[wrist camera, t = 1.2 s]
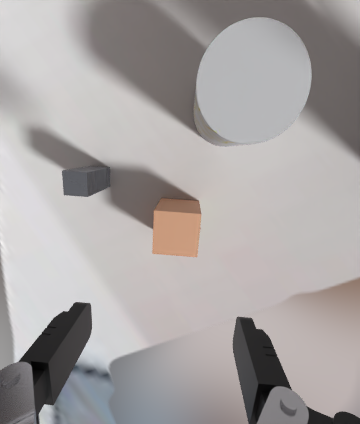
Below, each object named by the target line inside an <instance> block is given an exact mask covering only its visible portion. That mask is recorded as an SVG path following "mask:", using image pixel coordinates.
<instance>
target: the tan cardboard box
mask: <svg viewBox="0 0 360 424" xmlns="http://www.w3.org/2000/svg"><path fill="white" fill-rule="evenodd" d="M200 222H201V210H200V204H199V201H195V200H181V199H168V198H161V199H160V201H159V203H158V204H157V206H156V208H155V210H154V223H153V252H152V254H163V255H176V256H189V257H197V254H198V244H199V233H200Z"/></svg>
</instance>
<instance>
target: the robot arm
mask: <svg viewBox="0 0 360 424" xmlns="http://www.w3.org/2000/svg"><path fill="white" fill-rule="evenodd" d="M91 330H92V316H91V304H90V303H81V302H75V303H74V304H73V306H72V307H71V308H70V310H69V311H68V312H65V311H63V312H62V313H60V314H59V315H58V316H56V317H55V318H54V319H53V320H52V321H51V322H50V324H49V325H48V326H47V328H45V330H44V331H43V332H42V334H41V335H40V336H39V337H38V338H37V340H36V341H35V342H34V343H33V344H32V346H31V347H30V348H29V349H28V351H27V352H26V353H25V354H24V356H23V357H22V358H21V359H20V361H19V362H17V363H13V364H11V365H9V366H7V367H5V368H3V369H2V370H0V424H40V423H39V412H40V411H41V409H42V407H43V405H44V404H47V405H54V403H55V401H56V399H57V397H58V396H59V394H60V392H61V390H62V388H63V386H64V384H65V383H66V381H67V379H68V377H69V375H70V373H71V371H72V369H73V368H74V366H75V364H76V362H77V360H78V358H79V356H80V355H81V353H82V351H83V349H84V347H85V345H86V343H87V341H88V340H89V337H90V334H91ZM233 353H234V357H235V361H236V366H237V370H238V375H239V381H240V385H241V390H242V395H243V399H244V403H245V409H246V413H247V418H248V422H249V424H360V418H358V417H356V416H355V415H353V414H350V413H347V412H339V413H336V414H335V416H334V418H331V417H328V416H326V415H324V414H321V413H319V412H316V411H314V410H312V409H310V408H309V407H307V406H306V404H305V403H304V401H303V400H302V399H301V397H300V396H299V395H298V394H297V393H295V392H294V391H292V389H291V387H290V385H289V382H288V380H287V377H286V375H285V373H284V370H283V368H282V366H281V363H280V361H279V359H278V357H277V354H276V352H275V349H274V347H273V345H272V342H271V340H270V338H269V337H268V335H267V334H266V333H265V332H264V331H263V330H260V329H256V327H255V325H254V322H253V320H252V318H245V317H237V319H236V325H235V331H234V337H233Z"/></svg>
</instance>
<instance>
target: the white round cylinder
mask: <svg viewBox="0 0 360 424" xmlns="http://www.w3.org/2000/svg"><path fill="white" fill-rule="evenodd" d="M311 78H312V72H311V62H310V58H309V54H308V52H307V49H306V47H305V45H304V43H303V41H302V40H301V38H300V37H299V36H298V35H297V33H296V32H295V31H294V30H292V29H291V28H290V27H289V26H287V25H286V24H284V23H282V22H280V21H278V20H275V19H271V18H265V17H254V18H248V19H244V20H241V21H238V22H236V23H234V24H232V25H230V26H229V27H227V28H226V29H224V30H223V31H222V32H221V33H220V34H219V35H218V36H217V37H216V38H215V39H214V40H213V41H212V42H211V44H210V45H209V47H208V48H207V50H206V52H205V53H204V55H203V57H202V60H201V63H200V66H199V69H198V74H197V81H196V91H195V101H194V111H193V115H194V122H195V125H196V128H197V130H198V132H199V133H200V135H201V136H202V137H203V138H204V139H205V140H206V141H208V142H209V143H211V144H213V145H216V146H222V147H227V146H238V145H248V144H257V143H262V142H265V141H268V140H270V139H273V138H275V137H276V136H278V135H280V134H281V133H283V132H284V131H285V130H286V129H287V128H289V127H290V126H291V125H292V124H293V122H294V121H295V120H296V119H297V117H298V116H299V114H300V113H301V111H302V109H303V108H304V106H305V103H306V101H307V98H308V95H309V91H310V87H311Z"/></svg>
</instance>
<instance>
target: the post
mask: <svg viewBox="0 0 360 424" xmlns="http://www.w3.org/2000/svg"><path fill="white" fill-rule="evenodd" d="M62 176H63V189H64V195H70V196H84V197H88V196H91V195H93V194H95V193H97V192H99V191H102V190H104V189H106V188H108V187H110V167H98V166H88V167H81V168H75V169H69V170H63V171H62Z"/></svg>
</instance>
